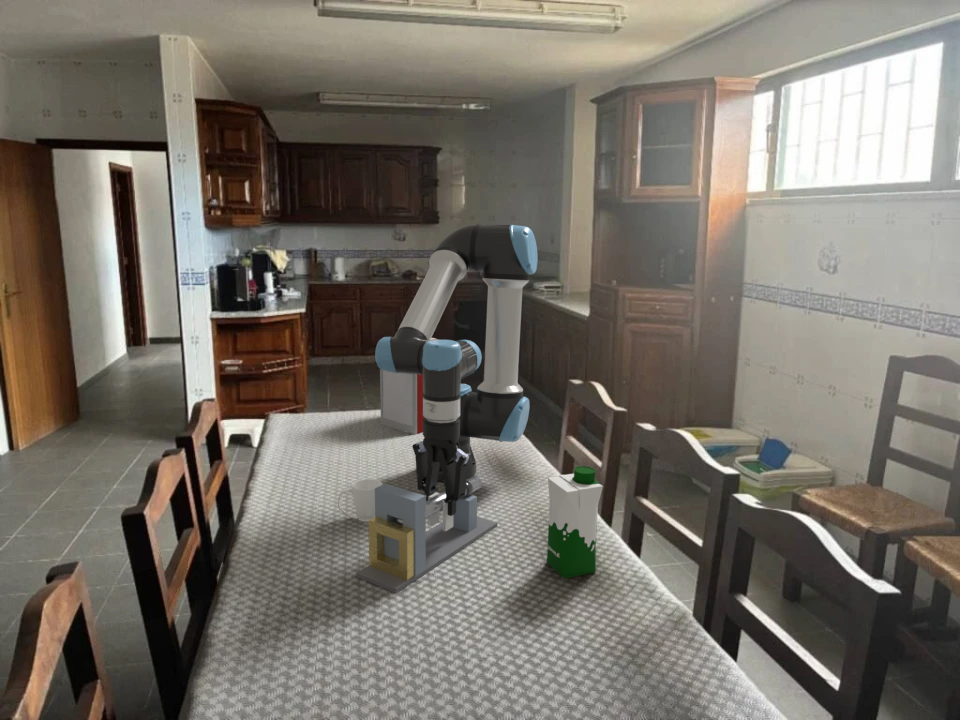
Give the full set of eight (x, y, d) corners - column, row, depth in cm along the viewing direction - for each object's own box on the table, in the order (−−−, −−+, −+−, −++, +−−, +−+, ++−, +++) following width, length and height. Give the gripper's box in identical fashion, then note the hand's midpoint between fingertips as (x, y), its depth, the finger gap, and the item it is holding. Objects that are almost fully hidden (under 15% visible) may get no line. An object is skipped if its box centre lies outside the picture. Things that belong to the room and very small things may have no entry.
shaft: (470, 487, 157) (470, 474, 156) (481, 490, 155) (482, 477, 155) (392, 529, 136) (392, 514, 135) (405, 534, 134) (405, 519, 134)
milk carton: (602, 573, 137) (608, 476, 133) (561, 582, 133) (565, 483, 129) (578, 553, 145) (583, 460, 140) (539, 561, 141) (543, 466, 137)
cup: (384, 523, 157) (383, 489, 155) (338, 526, 155) (337, 491, 153) (382, 510, 163) (381, 477, 162) (338, 513, 162) (337, 479, 160)
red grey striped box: (379, 423, 227) (377, 341, 222) (418, 412, 241) (418, 334, 235) (415, 435, 217) (415, 348, 211) (454, 422, 230) (454, 341, 224)
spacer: (376, 561, 138) (375, 516, 136) (414, 576, 133) (414, 529, 131) (369, 565, 137) (368, 520, 135) (407, 580, 131) (407, 533, 129)
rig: (460, 514, 162) (461, 448, 158) (497, 526, 156) (499, 457, 153) (356, 576, 134) (354, 497, 131) (396, 593, 129) (395, 511, 125)
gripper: (398, 414, 143) (399, 522, 148) (463, 429, 134) (461, 543, 139) (421, 406, 149) (421, 510, 154) (485, 420, 140) (483, 529, 145)
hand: (440, 526), depth 147 cm, fingers closed on shaft, 3 cm apart
